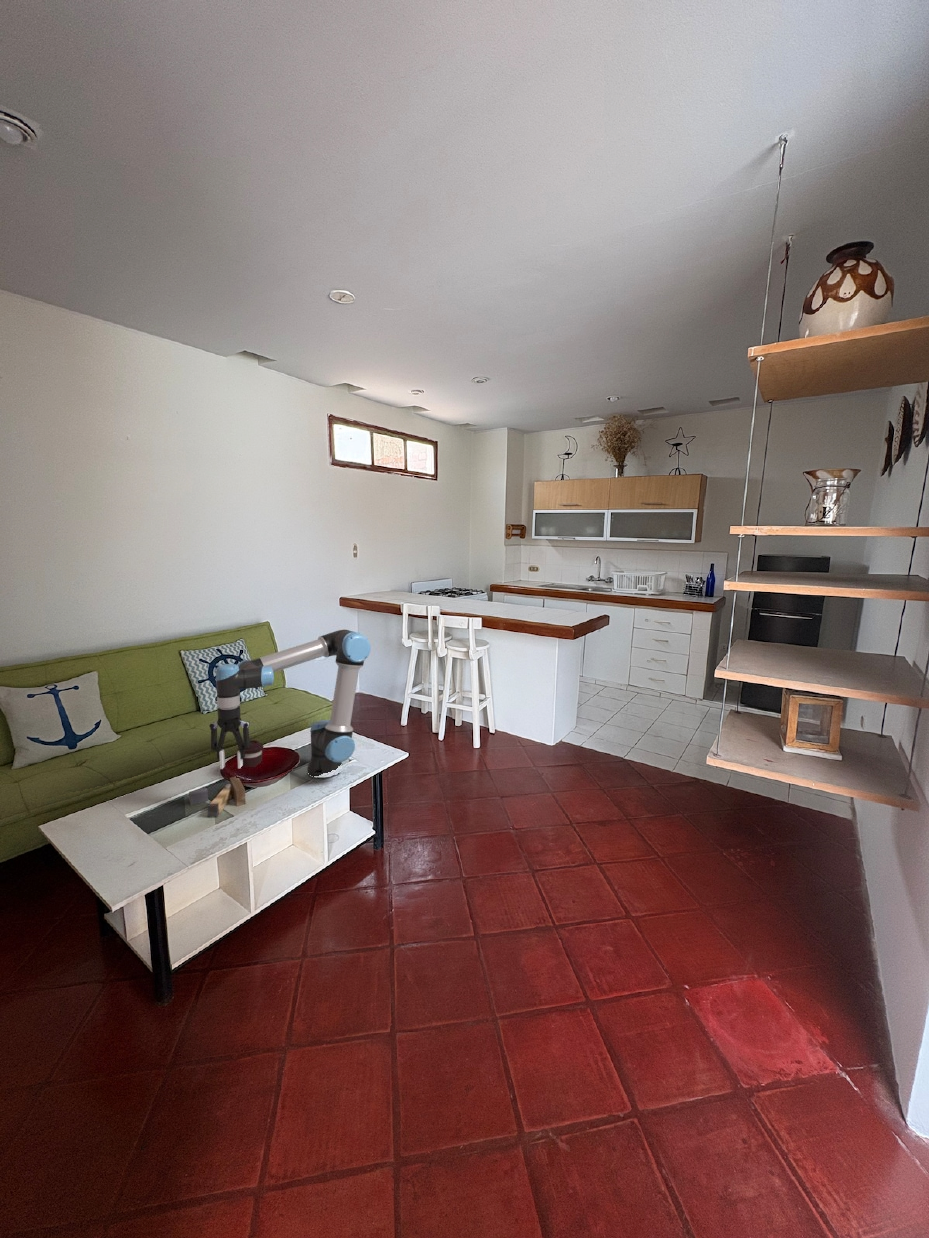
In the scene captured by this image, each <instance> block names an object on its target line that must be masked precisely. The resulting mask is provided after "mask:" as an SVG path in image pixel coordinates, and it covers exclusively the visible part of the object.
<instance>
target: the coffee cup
mask: <svg viewBox="0 0 929 1238" xmlns="http://www.w3.org/2000/svg"><path fill="white" fill-rule="evenodd" d="M249 740H250V739H249ZM237 749H238V751H239V747H238V748H237ZM263 750H264V744H263V743H262V742H260V741H259V740H255V739H251V740H250V747H249V748H248V749H246V750H245V758H244V759H243V766H244V767H256V766H257V765H258V764H260V763H261V761H262V762H263ZM238 751H237V752H238Z"/></svg>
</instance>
